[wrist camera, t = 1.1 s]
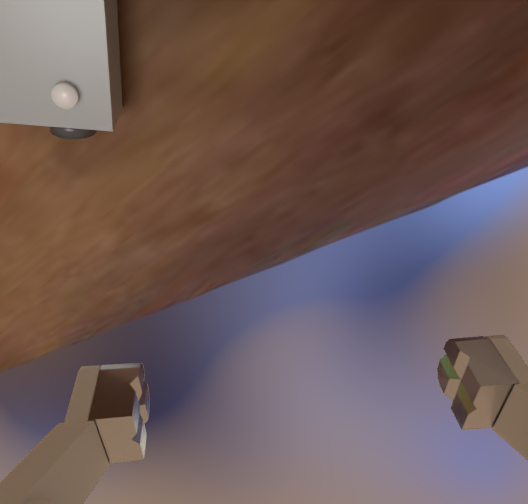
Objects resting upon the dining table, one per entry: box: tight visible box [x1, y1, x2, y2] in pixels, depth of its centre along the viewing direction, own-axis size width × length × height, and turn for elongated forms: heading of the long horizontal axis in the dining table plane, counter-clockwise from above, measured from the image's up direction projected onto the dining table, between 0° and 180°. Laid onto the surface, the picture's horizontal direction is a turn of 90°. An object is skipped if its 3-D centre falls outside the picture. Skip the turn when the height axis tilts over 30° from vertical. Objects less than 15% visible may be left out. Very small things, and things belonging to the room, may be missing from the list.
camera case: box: [0, 0, 123, 139], centre depth 38 cm, size 17×11×7 cm, turn 172°
